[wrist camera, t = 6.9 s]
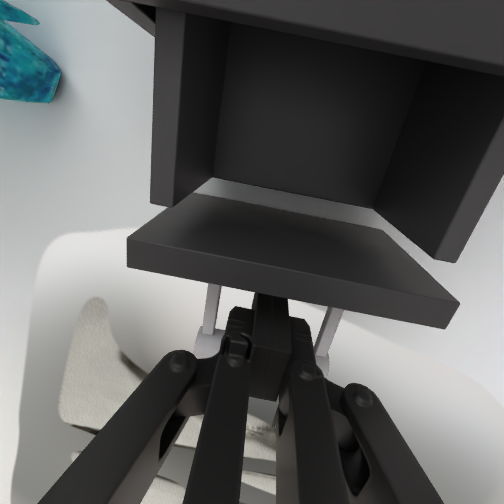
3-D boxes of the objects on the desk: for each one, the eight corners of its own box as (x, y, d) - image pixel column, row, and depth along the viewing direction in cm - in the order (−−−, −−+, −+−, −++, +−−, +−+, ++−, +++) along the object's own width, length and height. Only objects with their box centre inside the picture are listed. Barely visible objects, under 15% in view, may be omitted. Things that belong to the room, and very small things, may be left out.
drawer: (344, 327, 20) (382, 437, 13) (179, 295, 20) (126, 388, 13) (489, -40, 12) (810, -291, 5) (214, -96, 12) (122, -434, 5)
